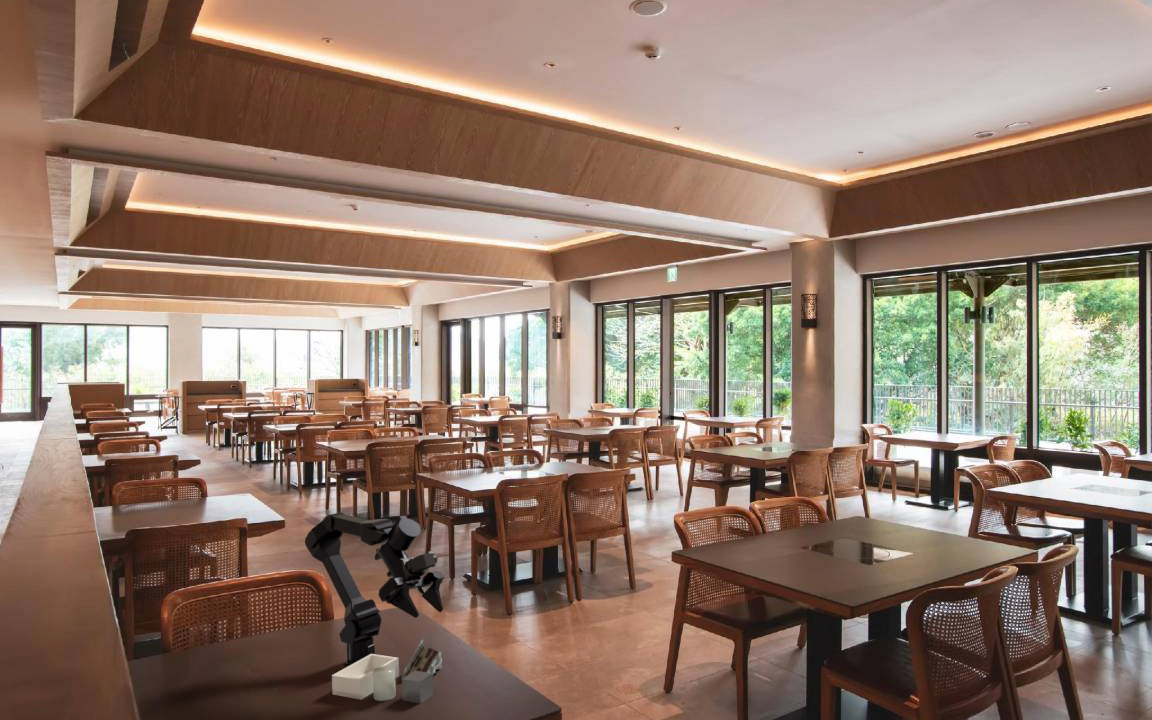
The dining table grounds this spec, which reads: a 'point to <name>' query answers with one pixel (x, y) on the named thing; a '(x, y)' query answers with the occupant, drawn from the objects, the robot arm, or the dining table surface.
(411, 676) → the iron block
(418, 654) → the chocolate cake
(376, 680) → the white pillar candle
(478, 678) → the dining table surface
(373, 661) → the tote
